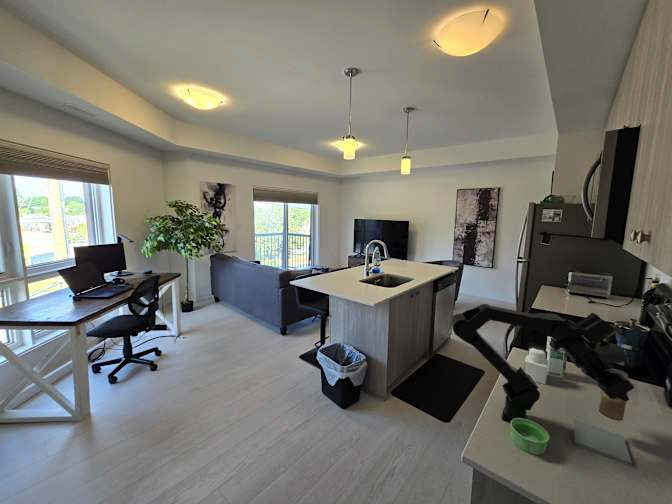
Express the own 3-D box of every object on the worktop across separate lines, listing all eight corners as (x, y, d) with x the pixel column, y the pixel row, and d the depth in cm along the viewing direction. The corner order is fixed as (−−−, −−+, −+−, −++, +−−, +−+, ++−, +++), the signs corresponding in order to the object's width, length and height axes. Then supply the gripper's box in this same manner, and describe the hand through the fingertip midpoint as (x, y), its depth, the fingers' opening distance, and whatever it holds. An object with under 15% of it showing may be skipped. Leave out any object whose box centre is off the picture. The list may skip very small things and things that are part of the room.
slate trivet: (631, 466, 72) (631, 462, 72) (575, 444, 78) (575, 441, 78) (622, 439, 80) (623, 436, 80) (572, 421, 87) (573, 418, 87)
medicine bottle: (525, 370, 116) (528, 342, 114) (546, 376, 111) (549, 348, 110) (523, 377, 110) (526, 349, 109) (545, 384, 106) (548, 355, 104)
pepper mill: (622, 423, 77) (629, 379, 76) (597, 413, 81) (604, 371, 79) (624, 415, 81) (631, 373, 79) (600, 406, 84) (607, 365, 83)
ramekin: (540, 463, 72) (542, 447, 72) (503, 440, 80) (504, 426, 79) (552, 446, 78) (554, 432, 77) (516, 426, 85) (518, 413, 84)
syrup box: (546, 375, 112) (550, 341, 110) (543, 368, 118) (547, 335, 116) (564, 379, 110) (568, 344, 108) (560, 371, 115) (565, 338, 113)
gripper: (630, 351, 70) (679, 400, 68) (587, 323, 88) (624, 362, 86) (588, 375, 73) (633, 422, 72) (554, 343, 91) (590, 381, 89)
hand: (620, 394), depth 80 cm, fingers closed on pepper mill, 5 cm apart
